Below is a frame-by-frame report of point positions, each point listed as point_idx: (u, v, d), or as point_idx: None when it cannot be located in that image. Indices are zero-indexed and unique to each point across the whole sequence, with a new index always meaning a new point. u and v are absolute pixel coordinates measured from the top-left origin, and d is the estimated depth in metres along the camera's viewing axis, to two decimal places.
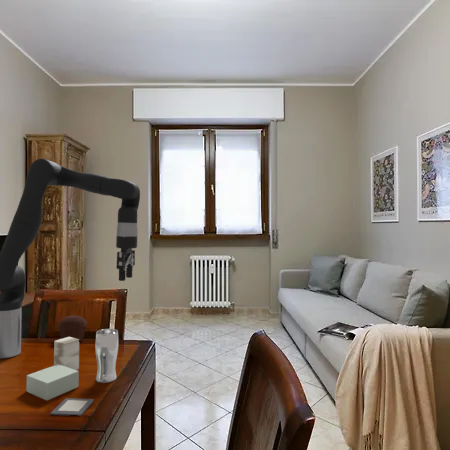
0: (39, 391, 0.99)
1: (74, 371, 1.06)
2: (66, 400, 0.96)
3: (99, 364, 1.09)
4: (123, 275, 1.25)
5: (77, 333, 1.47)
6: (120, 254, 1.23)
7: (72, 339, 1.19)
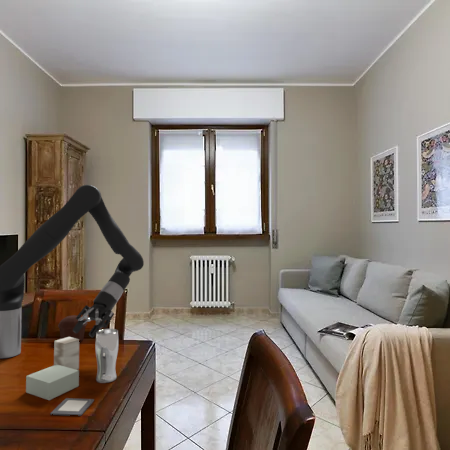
0: (40, 391, 0.99)
1: (74, 370, 1.06)
2: (66, 400, 0.96)
3: (99, 364, 1.09)
4: None
5: (77, 333, 1.47)
6: (111, 313, 1.26)
7: (72, 339, 1.19)
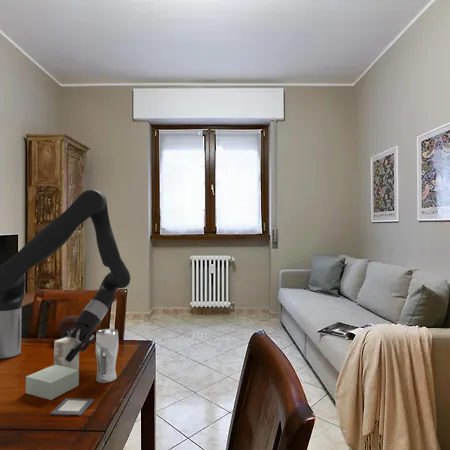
0: (41, 391, 0.99)
1: (74, 370, 1.06)
2: (66, 400, 0.96)
3: (99, 364, 1.09)
4: (73, 356, 1.16)
5: None
6: (92, 337, 1.19)
7: (72, 339, 1.19)
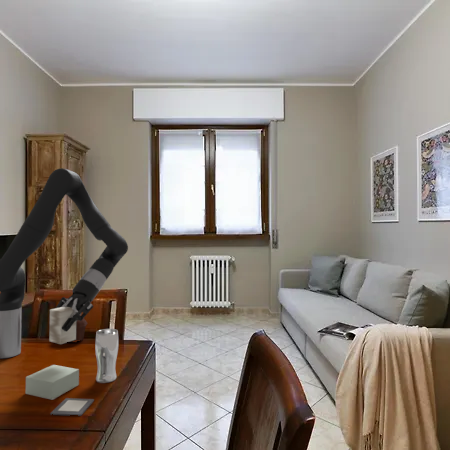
0: (42, 391, 0.99)
1: (74, 370, 1.07)
2: (66, 400, 0.96)
3: (99, 364, 1.09)
4: (70, 326, 1.10)
5: (77, 333, 1.47)
6: (89, 306, 1.13)
7: (69, 308, 1.13)
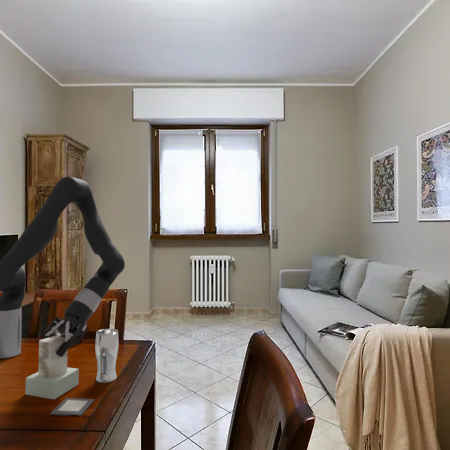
0: (43, 391, 0.99)
1: (74, 369, 1.07)
2: (66, 400, 0.96)
3: (99, 364, 1.09)
4: (65, 350, 1.02)
5: None
6: (84, 327, 1.05)
7: (59, 338, 1.05)
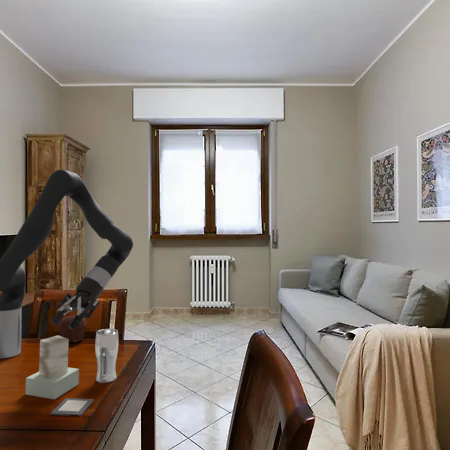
0: (43, 391, 0.99)
1: (74, 369, 1.07)
2: (66, 400, 0.96)
3: (99, 364, 1.09)
4: None
5: (77, 333, 1.47)
6: (95, 302, 1.09)
7: (60, 338, 1.05)
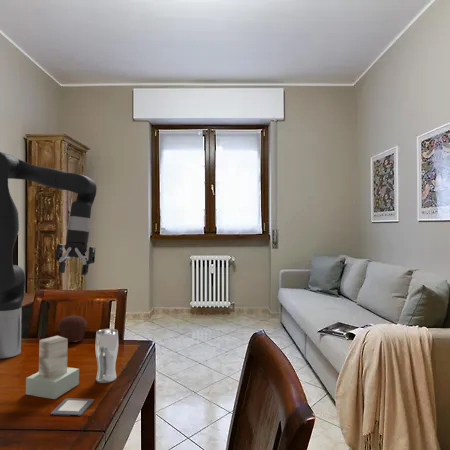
0: (43, 391, 0.99)
1: (74, 369, 1.07)
2: (66, 400, 0.96)
3: (99, 364, 1.09)
4: None
5: (77, 333, 1.47)
6: (93, 249, 1.28)
7: (60, 338, 1.05)
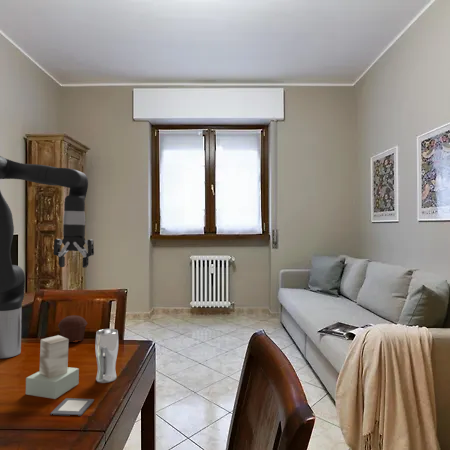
0: (44, 391, 0.99)
1: (74, 369, 1.07)
2: (66, 400, 0.96)
3: (99, 364, 1.09)
4: None
5: (77, 333, 1.47)
6: (92, 241, 1.31)
7: (61, 338, 1.05)
